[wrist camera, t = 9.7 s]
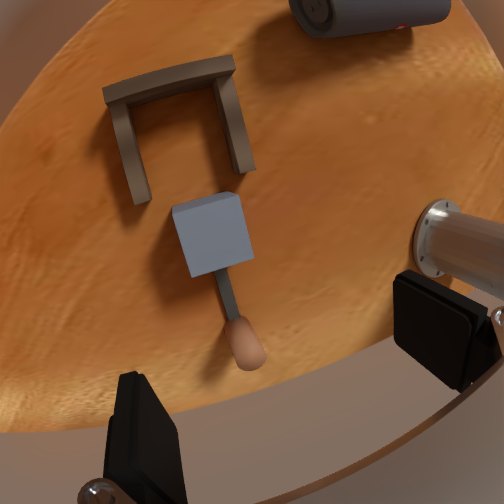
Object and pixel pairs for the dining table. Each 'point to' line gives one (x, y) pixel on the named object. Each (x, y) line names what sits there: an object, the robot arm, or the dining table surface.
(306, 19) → the bluetooth speaker
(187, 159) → the dining table surface
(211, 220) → the block
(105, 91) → the dark u-shaped frame
